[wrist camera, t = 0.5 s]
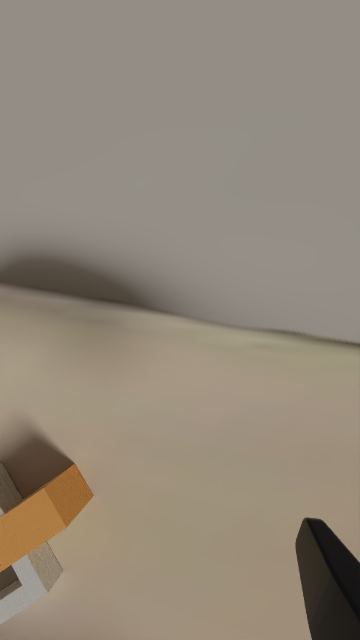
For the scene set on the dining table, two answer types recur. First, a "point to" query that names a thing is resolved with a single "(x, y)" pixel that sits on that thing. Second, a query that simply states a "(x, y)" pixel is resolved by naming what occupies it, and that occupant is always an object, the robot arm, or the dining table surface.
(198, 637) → the dining table surface
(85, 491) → the grey frame with tab
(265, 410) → the dining table surface
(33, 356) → the dining table surface
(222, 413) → the dining table surface
